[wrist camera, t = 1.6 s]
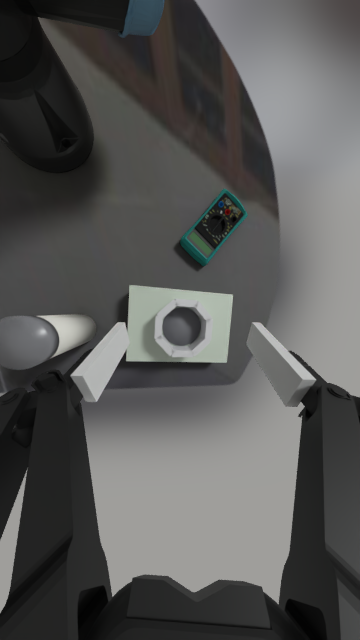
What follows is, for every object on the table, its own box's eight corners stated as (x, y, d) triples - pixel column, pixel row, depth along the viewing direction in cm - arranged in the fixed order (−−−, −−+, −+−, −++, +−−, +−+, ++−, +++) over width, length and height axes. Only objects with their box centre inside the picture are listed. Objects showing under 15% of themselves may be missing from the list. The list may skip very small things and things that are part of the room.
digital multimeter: (243, 220, 31) (252, 210, 28) (202, 268, 30) (207, 264, 27) (221, 195, 30) (227, 182, 27) (178, 245, 29) (180, 237, 26)
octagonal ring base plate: (134, 288, 28) (125, 281, 21) (223, 296, 31) (242, 292, 24) (130, 354, 29) (121, 368, 22) (218, 356, 32) (234, 368, 25)
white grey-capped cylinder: (63, 312, 26) (-16, 314, 15) (97, 314, 27) (49, 317, 15) (63, 343, 27) (-14, 369, 15) (96, 344, 28) (48, 369, 16)
